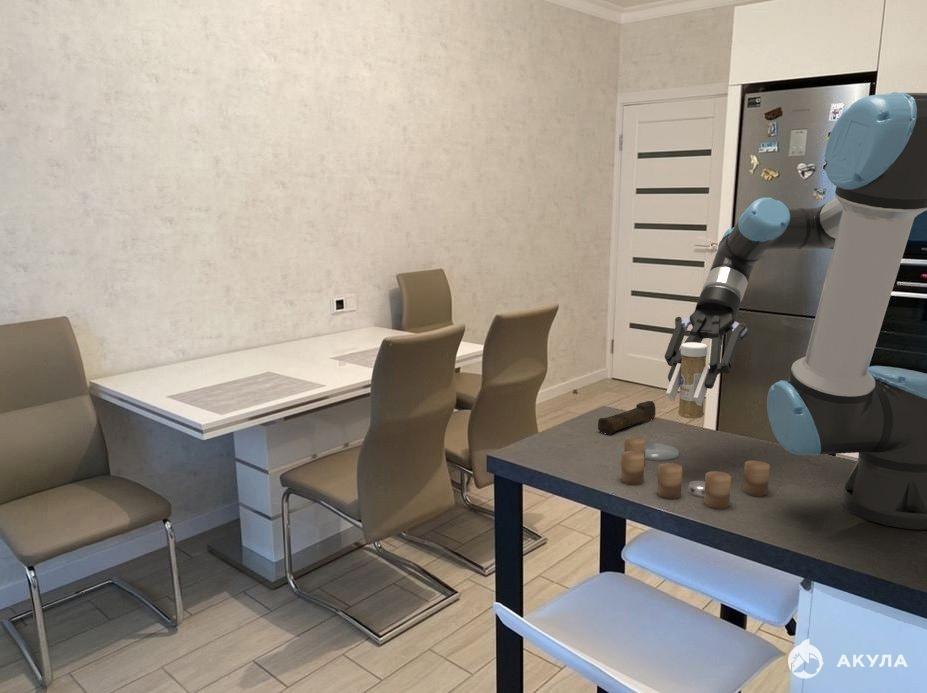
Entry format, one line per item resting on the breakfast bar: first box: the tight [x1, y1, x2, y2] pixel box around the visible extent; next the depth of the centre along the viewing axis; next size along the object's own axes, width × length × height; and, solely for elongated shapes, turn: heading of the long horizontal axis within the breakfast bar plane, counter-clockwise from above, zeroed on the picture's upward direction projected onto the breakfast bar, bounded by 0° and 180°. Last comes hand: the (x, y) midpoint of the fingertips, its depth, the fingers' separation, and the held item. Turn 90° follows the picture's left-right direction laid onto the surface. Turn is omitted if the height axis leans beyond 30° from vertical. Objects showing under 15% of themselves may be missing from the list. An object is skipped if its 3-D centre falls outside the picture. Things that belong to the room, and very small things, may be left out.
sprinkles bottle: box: [677, 342, 708, 420], centre depth 129 cm, size 5×5×14 cm
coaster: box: [645, 442, 679, 462], centre depth 144 cm, size 9×9×1 cm
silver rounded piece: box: [687, 480, 705, 498], centre depth 124 cm, size 4×4×2 cm
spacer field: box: [620, 436, 771, 510], centre depth 129 cm, size 26×18×5 cm
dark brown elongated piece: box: [597, 400, 656, 436], centre depth 162 cm, size 19×4×5 cm, turn 128°
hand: (683, 399), depth 126 cm, fingers closed on sprinkles bottle, 4 cm apart
